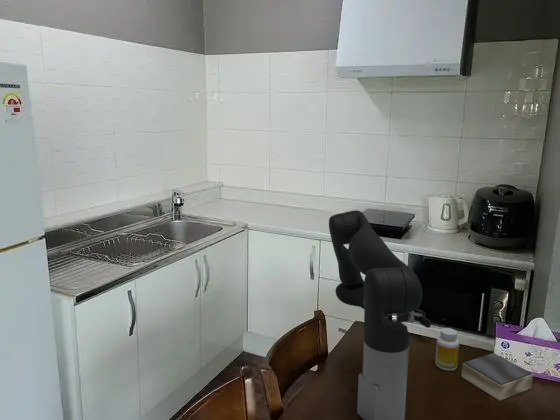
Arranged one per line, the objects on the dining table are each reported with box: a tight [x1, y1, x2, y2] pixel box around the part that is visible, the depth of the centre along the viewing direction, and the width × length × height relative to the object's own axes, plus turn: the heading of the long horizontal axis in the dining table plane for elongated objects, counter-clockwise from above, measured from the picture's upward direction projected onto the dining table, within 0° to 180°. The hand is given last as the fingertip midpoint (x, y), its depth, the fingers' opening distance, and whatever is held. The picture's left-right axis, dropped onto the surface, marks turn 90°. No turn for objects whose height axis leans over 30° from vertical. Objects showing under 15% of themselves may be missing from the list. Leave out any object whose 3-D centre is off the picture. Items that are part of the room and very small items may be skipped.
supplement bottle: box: [435, 327, 460, 372], centre depth 117 cm, size 5×5×10 cm
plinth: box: [461, 352, 534, 402], centre depth 110 cm, size 11×11×4 cm
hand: (418, 327), depth 127 cm, fingers open, 8 cm apart
